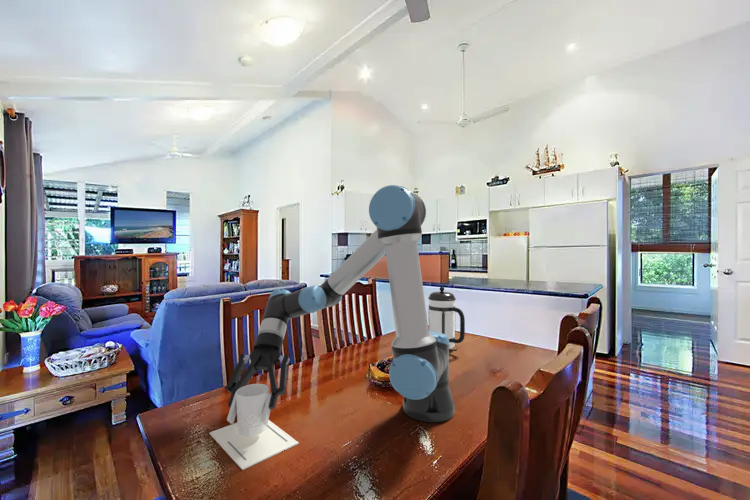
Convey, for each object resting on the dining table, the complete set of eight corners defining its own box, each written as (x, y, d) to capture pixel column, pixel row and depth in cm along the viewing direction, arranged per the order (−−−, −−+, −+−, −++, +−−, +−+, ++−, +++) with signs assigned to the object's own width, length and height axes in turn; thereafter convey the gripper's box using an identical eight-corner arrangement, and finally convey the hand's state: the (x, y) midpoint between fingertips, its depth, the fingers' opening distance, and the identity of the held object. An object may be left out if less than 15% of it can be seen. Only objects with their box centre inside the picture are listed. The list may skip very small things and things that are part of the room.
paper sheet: (298, 443, 82) (298, 442, 82) (242, 470, 72) (242, 468, 72) (260, 414, 96) (260, 413, 96) (209, 433, 86) (209, 432, 86)
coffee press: (425, 354, 153) (425, 288, 153) (426, 344, 169) (426, 284, 168) (464, 356, 150) (465, 289, 150) (461, 346, 166) (461, 285, 166)
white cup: (260, 418, 90) (260, 381, 90) (274, 429, 84) (274, 390, 84) (230, 429, 85) (230, 389, 84) (243, 442, 79) (243, 400, 79)
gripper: (307, 344, 99) (292, 428, 83) (239, 343, 100) (210, 426, 84) (303, 331, 94) (285, 418, 78) (231, 330, 95) (199, 415, 79)
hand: (247, 422), depth 81 cm, fingers closed on white cup, 8 cm apart
